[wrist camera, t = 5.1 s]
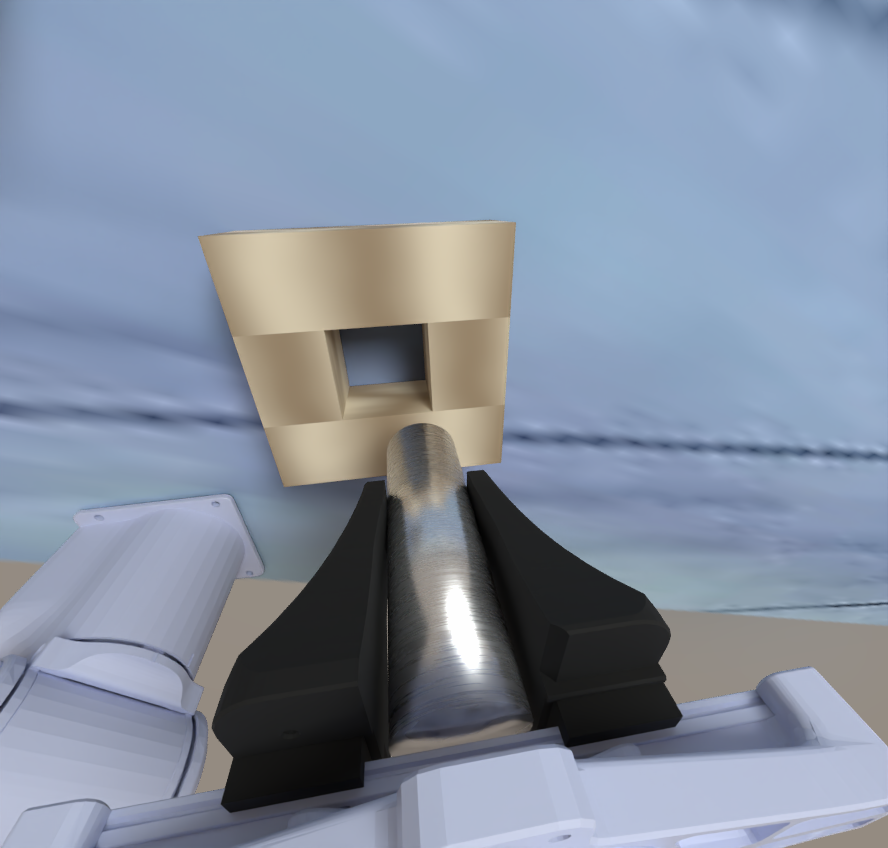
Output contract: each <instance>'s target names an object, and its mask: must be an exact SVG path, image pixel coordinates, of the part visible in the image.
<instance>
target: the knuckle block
mask: <svg viewBox="0 0 888 848" xmlns="http://www.w3.org/2000/svg"><path fill="white" fill-rule="evenodd" d="M515 227H516V222H506V221H497V220H477V221H454V222H431V223H407V224H384V225H361V226H337V227H314V228H291V229H267V230H244V231H232V232H225V233H218V234H211V235H204V236H198V238H199V241H200V244H201V247H202V250H203V253H204V256H205V259H206V261H207V264H208V267H209V270H210V273H211V276H212V279H213V282H214V285H215V288H216V291H217V293H218V296H219V299H220V302H221V305H222V308H223V311H224V314H225V317H226V320H227V322H228V325H229V328H230V331H231V334H232V337H233V340H234V343H235V346H236V349H237V352H238V354H239V357H240V360H241V363H242V366H243V369H244V372H245V375H246V378H247V381H248V383H249V386H250V389H251V392H252V395H253V398H254V401H255V404H256V407H257V410H258V413H259V415H260V418H261V421H262V424H263V427H264V430H265V433H266V436H267V439H268V442H269V444H270V447H271V450H272V453H273V456H274V459H275V462H276V465H277V468H278V471H279V474H280V476H281V479H282V482H283V485H284V487H289V486H298V485H307V484H316V483H324V482H333V481H342V480H351V479H360V478H369V477H378V476H386V475H387V447H388V444H389V442H390V440H391V438H392V437H393V436H394V435H395V434H396V433H397V432H398V431H399V430H401V429H403V428H404V427H407V426H409V425H412V424H417V423H429V424H434V425H437V426H439V427H441V428H443V429H444V430H446V431H447V432H448V433H449V434H450V436H451V437H452V439H453V441H454V444H455V448H456V451H457V455H458V458H459V462H460V465H461V467H466V466H475V465H484V464H493V463H501V455H502V439H503V423H504V406H505V390H506V374H507V358H508V341H509V325H510V309H511V292H512V276H513V260H514V243H515ZM421 323H422V335H423V350H424V366H425V380H418V381H406V382H395V383H383V384H372V385H360V386H349V381H348V376H347V370H346V365H345V359H344V354H343V349H342V343H341V338H340V332H339V329H350V328H365V327H379V326H393V325H407V324H421Z"/></svg>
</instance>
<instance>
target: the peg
mask: <svg viewBox="0 0 888 848" xmlns="http://www.w3.org/2000/svg"><path fill="white" fill-rule="evenodd" d="M387 563H388V722H389V753H390V755H391V756H392V757H396V756H401V755H406V754H412V753H417V752H423V751H428V750H433V749H439V748H444V747H449V746H455V745H460V744H466V743H471V742H476V741H482V740H487V739H492V738H498V737H503V736H509V735H514V734H519V733H525V732H530V730H531V728H532V726H533V717H532V713H531V710H530V706H529V703H528V699H527V696H526V692H525V689H524V685H523V682H522V678H521V675H520V671H519V668H518V664H517V661H516V657H515V654H514V650H513V647H512V643H511V640H510V636H509V633H508V629H507V626H506V622H505V619H504V615H503V612H502V608H501V605H500V601H499V598H498V594H497V591H496V588H495V584H494V581H493V577H492V574H491V570H490V567H489V563H488V560H487V556H486V553H485V549H484V546H483V542H482V539H481V535H480V532H479V528H478V525H477V521H476V518H475V514H474V511H473V507H472V504H471V500H470V497H469V493H468V490H467V486H466V483H465V479H464V476H463V472H462V469H461V465H460V462H459V458H458V455H457V451H456V448H455V444H454V441H453V439H452V437H451V436H450V434H449V433H448V432H447V431H446V430H444V429H443V428H441V427H439V426H437V425H434V424H429V423H417V424H412V425H409V426H407V427H404V428H403V429H401V430H399V431H398V432H397V433H396V434H395V435H394V436H393V437H392V438H391V440H390V442H389V444H388V447H387Z"/></svg>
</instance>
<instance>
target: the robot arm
mask: <svg viewBox="0 0 888 848" xmlns="http://www.w3.org/2000/svg"><path fill="white" fill-rule="evenodd" d="M467 490H468V493H469V497H470V500H471V504H472V507H473V511H474V514H475V518H476V521H477V525H478V528H479V532H480V535H481V539H482V542H483V546H484V549H485V553H486V556H487V560H488V563H489V567H490V570H491V574H492V577H493V581H494V584H495V588H496V591H497V594H498V598H499V601H500V605H501V608H502V612H503V615H504V619H505V622H506V626H507V629H508V633H509V636H510V640H511V643H512V647H513V650H514V654H515V657H516V661H517V664H518V668H519V671H520V675H521V678H522V682H523V685H524V689H525V692H526V696H527V699H528V703H529V706H530V710H531V713H532V717H533V726H532V728H531V730H530V732H525V733H519V734H514V735H509V736H503V737H498V738H492V739H487V740H482V741H476V742H471V743H466V744H460V745H455V746H449V747H444V748H439V749H433V750H428V751H423V752H417V753H412V754H406V755H401V756H396V757H391V755H390V753H389V722H388V660H387V599H388V563H387V495H386V488H385V480H382V481H373V482H367V483H366V484H365V485H364V489H363V491H362V494H361V497H360V499H359V501H358V504H357V506H356V508H355V510H354V512H353V514H352V516H351V518H350V520H349V522H348V524H347V526H346V528H345V529H344V531H343V533H342V535H341V536H340V538H339V540H338V541H337V543H336V545H335V546H334V548H333V549H332V551H331V553H330V554H329V556H328V557H327V559H326V560H325V561H324V563H323V564H322V566H321V567H320V568H319V570H318V571H317V572H316V574H315V575H314V576H313V578H312V579H311V580H310V581H309V583H308V584H307V585H306V587H305V588H304V589H303V590H302V591H301V593H300V594H299V595H298V596H297V597H296V598H295V599H294V601H293V602H292V603H291V604H290V605H289V606H288V607H287V608H286V609H285V610H284V611H283V613H282V614H281V615H280V616H279V617H278V618H277V619H276V620H275V621H274V622H273V623H272V624H271V625H270V626H269V627H268V628H267V629H266V630H265V631H264V632H263V633H262V634H261V635H260V636H259V637H258V638H257V639H256V640H255V641H254V642H253V643H252V644H250V645H249V646H248V648H246V649H245V650H244V651H243V652H242V653H241V654H240V655H239V656H238V658H237V660H236V662H235V664H234V666H233V668H232V671H231V673H230V675H229V677H228V679H227V682H226V684H225V686H224V689H223V692H222V695H221V698H220V701H219V704H218V707H217V710H216V713H215V716H214V719H213V723H212V729H213V732H214V734H215V736H216V737H217V739H218V740H219V741H220V742H221V743H222V745H223V746H224V747H225V748H226V749H227V750H228V752H229V753H230V754H231V755H232V756H233V761H232V765H231V768H230V772H229V776H228V779H227V783H226V786H225V788H224V789H218V790H213V791H208V792H203V793H197V794H195V792H196V789H197V787H198V784H199V781H200V778H201V775H202V772H203V768H204V763H205V759H206V754H207V741H208V725H207V720H206V718H205V716H204V715H203V714H202V713H201V712H199V711H196V709H197V706H198V703H199V701H200V698H201V695H202V693H203V690H204V688H203V687H202V686H200V685H197V684H196V683H194V682H193V681H194V678H195V676H196V673H197V671H198V668H199V666H200V664H201V661H202V659H203V656H204V654H205V651H206V649H207V647H208V644H209V642H210V639H211V637H212V634H213V632H214V629H215V627H216V625H217V622H218V620H219V617H220V615H221V612H222V610H223V607H224V605H225V602H226V600H227V598H228V595H229V593H230V590H231V588H232V585H233V583H234V580H235V579H240V578H247V577H254V576H260V575H262V574H263V573H264V570H265V568H264V565H263V563H262V561H261V559H260V556H259V554H258V552H257V550H256V547H255V545H254V543H253V541H252V539H251V536H250V534H249V532H248V530H247V527H246V525H245V523H244V521H243V518H242V516H241V514H240V512H239V510H238V507H237V505H236V503H235V501H234V499H233V497H232V496H230V495H227V494H220V495H212V496H203V497H194V498H185V499H176V500H167V501H158V502H149V503H141V504H132V505H123V506H114V507H105V508H96V509H87V510H80V511H78V512H77V513H76V514H75V515H74V516H73V519H74V521H75V522H76V524H77V525H78V526H79V528H78V529H77V530H76V531H75V532H74V533H73V534H72V535H71V536H70V537H69V539H68V540H67V541H66V542H65V543H64V544H63V545H62V546H61V547H60V548H59V549H58V550H57V551H56V552H55V553H54V554H53V555H52V556H51V557H50V558H49V559H48V560H47V561H46V562H45V563H44V564H43V565H42V567H41V568H40V569H39V570H38V571H37V572H36V573H35V574H34V575H33V576H32V577H31V578H30V579H29V580H28V581H27V582H26V583H25V584H24V585H23V586H22V588H20V589H19V590H18V591H17V592H16V593H15V595H14V596H13V597H12V598H11V599H10V600H9V601H8V602H7V603H6V604H5V605H4V606H3V607H2V608H1V610H0V848H784V847H787V846H791V845H795V844H798V843H802V842H806V841H810V840H813V839H817V838H821V837H824V836H829V835H832V834H837V833H841V832H845V831H849V830H853V829H856V828H861V827H863V826H865V825H867V824H870V823H872V822H874V821H876V820H878V819H880V818H882V817H884V816H886V815H888V746H887V745H886V744H885V743H884V742H883V741H882V740H881V739H880V738H879V737H878V736H877V735H876V734H875V733H874V731H872V729H871V728H870V727H869V726H868V725H867V724H866V723H865V722H864V721H863V720H862V719H861V718H860V717H859V715H857V713H856V712H855V711H854V710H853V709H852V708H851V707H850V706H849V705H848V704H847V703H846V701H845V700H844V699H843V698H842V697H841V696H840V695H839V694H838V693H837V692H836V691H835V690H834V689H833V688H832V687H831V686H830V684H829V683H828V682H827V681H826V680H825V679H824V678H823V677H822V676H821V675H820V674H819V673H818V671H816V669H815V668H813V667H809V666H808V667H803V668H797V669H792V670H786V671H781V672H776V673H773V674H770V675H768V676H766V677H765V678H763V679H762V680H761V681H760V682H759V684H758V685H757V687H756V690H750V691H745V692H740V693H734V694H729V695H724V696H718V697H713V698H708V699H702V700H697V701H691V702H686V703H680V704H676V703H675V701H674V700H673V698H672V696H671V694H670V693H669V691H668V689H667V688H666V686H665V684H664V682H665V681H666V675H665V674H664V672H663V670H662V669H661V667H660V665H659V664H658V662H659V660H660V658H661V657H662V655H663V653H664V651H665V650H666V648H667V645H668V643H669V640H670V637H671V634H670V629H669V627H668V626H667V624H666V623H665V621H664V620H663V618H662V617H661V615H660V614H659V612H658V611H657V609H656V608H655V607H654V606H653V604H652V603H651V602H650V601H649V599H648V598H647V597H646V595H645V594H643V593H641V592H639V591H637V590H635V589H633V588H631V587H629V586H627V585H625V584H623V583H621V582H619V581H617V580H615V579H613V578H611V577H610V576H608V575H606V574H604V573H603V572H601V571H599V570H597V569H596V568H594V567H592V566H590V565H589V564H587V563H586V562H584V561H583V560H581V559H580V558H578V557H577V556H575V555H574V554H572V553H570V552H569V551H567V550H566V549H564V548H563V547H562V546H560V545H559V544H558V543H556V542H555V541H554V540H553V539H551V538H550V537H549V536H548V535H546V534H545V533H544V532H543V531H541V530H540V529H539V528H538V527H537V526H536V525H535V524H533V523H532V522H531V521H530V520H529V519H528V518H527V517H526V516H525V515H524V514H523V513H522V512H521V511H520V510H519V509H518V508H517V507H516V506H515V505H514V504H513V503H512V502H511V501H510V500H509V499H508V498H507V497H506V496H505V494H504V493H503V492H502V491H501V490H500V489H499V488H498V486H497V485H496V484H495V483H494V482H493V480H492V479H491V478H490V477H489V476H488V474H487V473H486V472H485V471H484V470H479V471H469V472H467ZM215 501H216V502H219V503H216V502H215Z"/></svg>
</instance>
